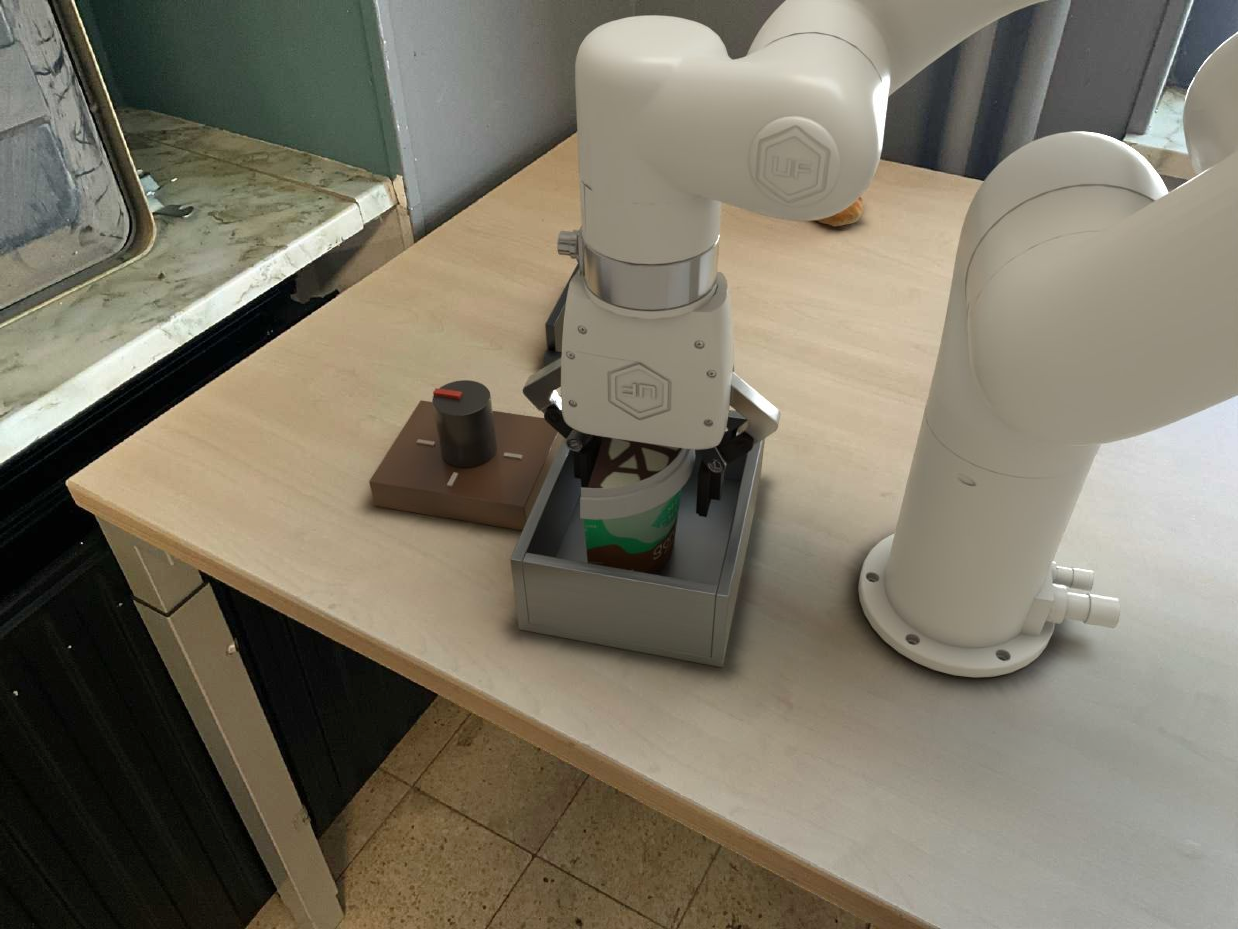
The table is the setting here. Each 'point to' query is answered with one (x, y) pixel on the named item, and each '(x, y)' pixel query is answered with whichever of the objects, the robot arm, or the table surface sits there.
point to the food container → (634, 504)
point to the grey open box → (629, 600)
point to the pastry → (845, 215)
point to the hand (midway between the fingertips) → (648, 492)
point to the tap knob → (465, 423)
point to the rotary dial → (467, 471)
